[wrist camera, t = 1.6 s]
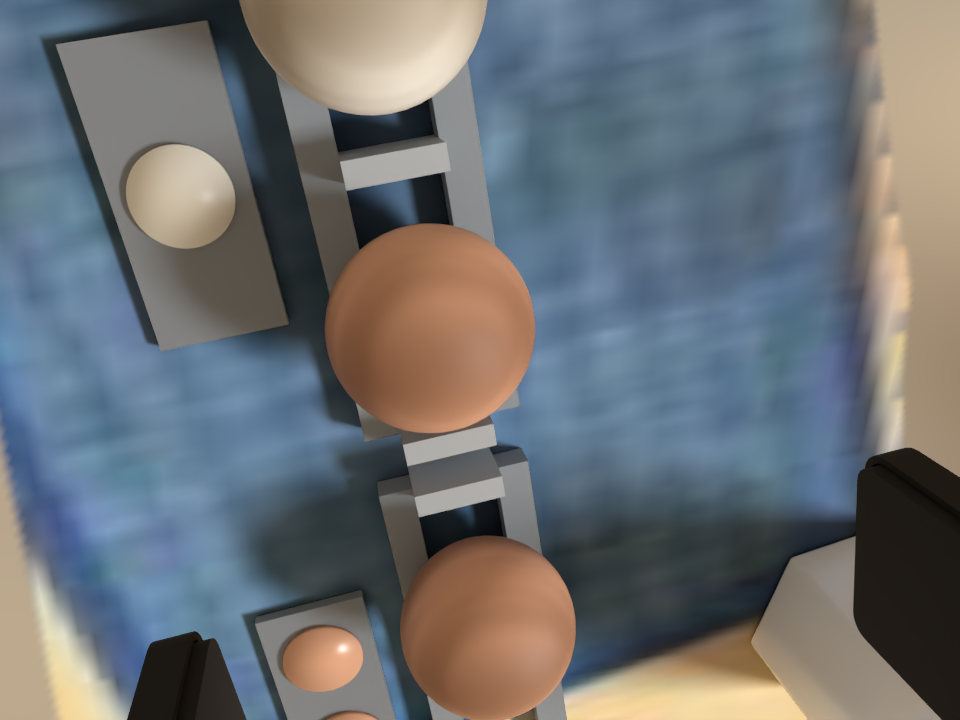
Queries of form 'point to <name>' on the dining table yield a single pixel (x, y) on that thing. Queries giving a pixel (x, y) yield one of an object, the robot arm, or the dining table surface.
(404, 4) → the cream ball
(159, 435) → the dining table surface
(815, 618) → the jar
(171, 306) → the tiles
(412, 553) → the grey ball rail
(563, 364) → the dining table surface
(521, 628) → the terracotta ball
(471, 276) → the terracotta ball
